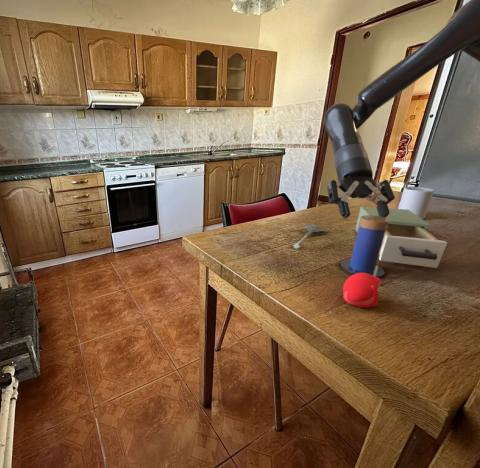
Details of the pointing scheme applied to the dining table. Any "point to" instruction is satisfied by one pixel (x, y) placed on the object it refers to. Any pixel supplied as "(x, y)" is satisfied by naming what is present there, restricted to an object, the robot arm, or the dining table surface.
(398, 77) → the robot arm
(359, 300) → the cap
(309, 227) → the grey spatula
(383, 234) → the spice jar
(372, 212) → the cabinet
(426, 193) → the mug
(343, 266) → the coaster
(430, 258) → the drawer
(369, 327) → the dining table surface
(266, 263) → the dining table surface
